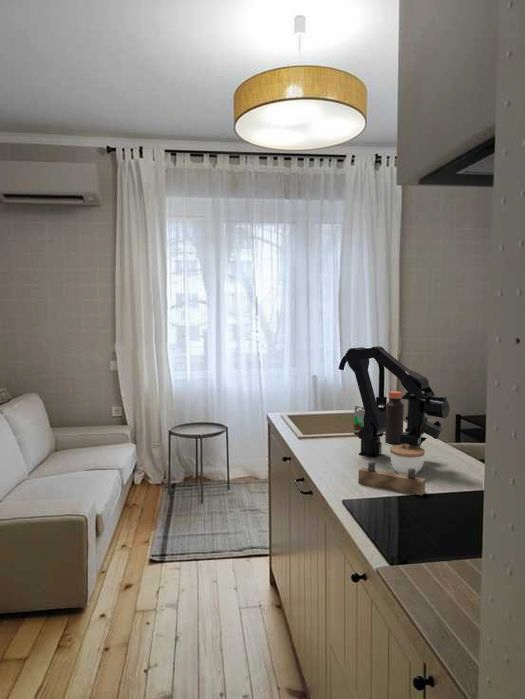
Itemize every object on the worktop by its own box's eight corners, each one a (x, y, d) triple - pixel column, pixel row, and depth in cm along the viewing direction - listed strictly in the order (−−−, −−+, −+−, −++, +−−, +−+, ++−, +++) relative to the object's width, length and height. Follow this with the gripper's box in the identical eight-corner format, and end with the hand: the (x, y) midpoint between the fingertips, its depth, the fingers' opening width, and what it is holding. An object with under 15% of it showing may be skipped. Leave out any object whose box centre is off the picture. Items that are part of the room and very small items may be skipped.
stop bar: (358, 482, 152) (358, 461, 152) (362, 479, 155) (362, 459, 154) (421, 495, 142) (422, 473, 142) (424, 492, 145) (425, 470, 144)
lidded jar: (384, 473, 161) (384, 444, 160) (397, 465, 169) (397, 438, 169) (416, 480, 154) (417, 450, 154) (428, 471, 163) (429, 443, 162)
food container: (368, 435, 208) (369, 412, 208) (353, 434, 210) (354, 411, 209) (368, 428, 221) (369, 406, 220) (354, 428, 222) (354, 405, 221)
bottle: (381, 441, 200) (382, 391, 198) (395, 439, 203) (396, 390, 201) (392, 445, 194) (394, 394, 192) (406, 443, 197) (407, 392, 195)
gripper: (434, 421, 156) (432, 470, 157) (447, 411, 172) (445, 456, 173) (398, 417, 162) (397, 464, 163) (414, 407, 178) (413, 451, 179)
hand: (414, 459), depth 170 cm, fingers closed
